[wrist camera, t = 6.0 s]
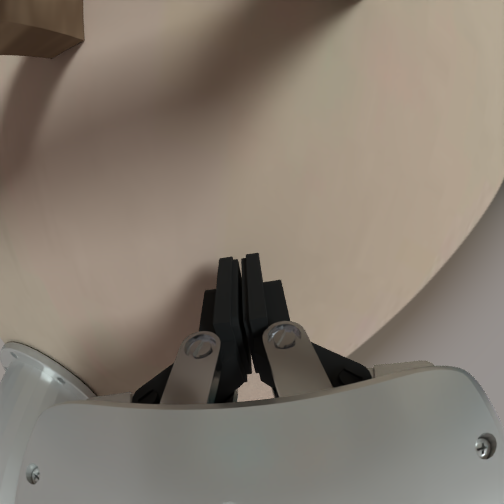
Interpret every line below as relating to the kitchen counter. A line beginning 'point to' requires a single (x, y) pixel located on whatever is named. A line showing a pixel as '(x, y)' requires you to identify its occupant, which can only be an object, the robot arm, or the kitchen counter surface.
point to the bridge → (40, 27)
